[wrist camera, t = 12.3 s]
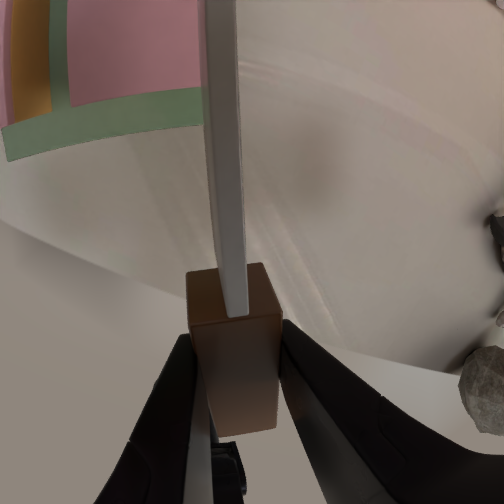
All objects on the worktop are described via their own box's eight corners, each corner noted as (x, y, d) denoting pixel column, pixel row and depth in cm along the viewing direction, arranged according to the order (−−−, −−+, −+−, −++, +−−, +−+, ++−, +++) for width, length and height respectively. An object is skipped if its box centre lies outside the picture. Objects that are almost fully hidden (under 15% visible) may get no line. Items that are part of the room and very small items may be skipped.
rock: (551, 415, 19) (569, 342, 26) (452, 369, 33) (486, 307, 40) (510, 460, 26) (537, 395, 33) (432, 419, 40) (468, 363, 47)
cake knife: (264, 384, 11) (280, 440, 9) (211, 392, 11) (220, 451, 9) (253, -60, 4) (286, -113, 2) (158, -55, 4) (148, -112, 2)
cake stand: (206, 110, 16) (214, 124, 11) (60, 134, 15) (6, 163, 9) (202, -42, 11) (211, -94, 6) (54, -13, 10) (4, -41, 4)
